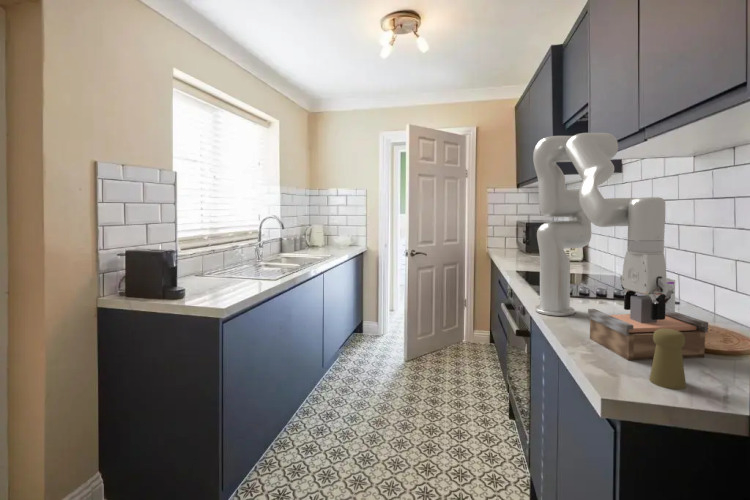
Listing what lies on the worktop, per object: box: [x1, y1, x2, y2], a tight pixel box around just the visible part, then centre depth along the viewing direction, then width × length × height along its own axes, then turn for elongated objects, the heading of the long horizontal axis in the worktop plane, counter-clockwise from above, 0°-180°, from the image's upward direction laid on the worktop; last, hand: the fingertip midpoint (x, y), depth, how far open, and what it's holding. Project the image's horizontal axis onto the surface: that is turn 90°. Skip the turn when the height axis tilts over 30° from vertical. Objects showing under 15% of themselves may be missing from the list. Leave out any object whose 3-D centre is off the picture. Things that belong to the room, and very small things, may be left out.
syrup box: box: [644, 277, 676, 312], centre depth 115 cm, size 6×6×14 cm
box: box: [587, 308, 709, 361], centre depth 98 cm, size 16×19×8 cm
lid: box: [609, 294, 697, 333], centre depth 98 cm, size 12×17×7 cm
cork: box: [649, 329, 687, 390], centre depth 78 cm, size 6×6×11 cm
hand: (643, 314), depth 98 cm, fingers open, 9 cm apart
